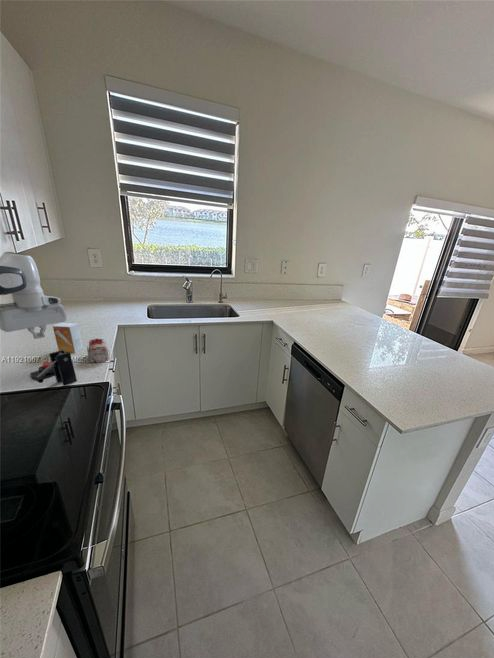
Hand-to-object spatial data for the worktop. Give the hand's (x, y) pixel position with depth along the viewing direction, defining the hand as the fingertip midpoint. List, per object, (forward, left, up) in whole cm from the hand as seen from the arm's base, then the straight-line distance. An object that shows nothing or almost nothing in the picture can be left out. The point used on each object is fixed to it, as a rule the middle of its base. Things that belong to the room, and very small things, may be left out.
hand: (39, 337), depth 108 cm
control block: (+1, 0, -16) cm, 16 cm away
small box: (+21, +22, -16) cm, 34 cm away
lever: (-4, -13, -8) cm, 16 cm away
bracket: (0, -13, -16) cm, 20 cm away
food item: (+21, 0, -16) cm, 26 cm away
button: (+1, 0, -12) cm, 12 cm away
